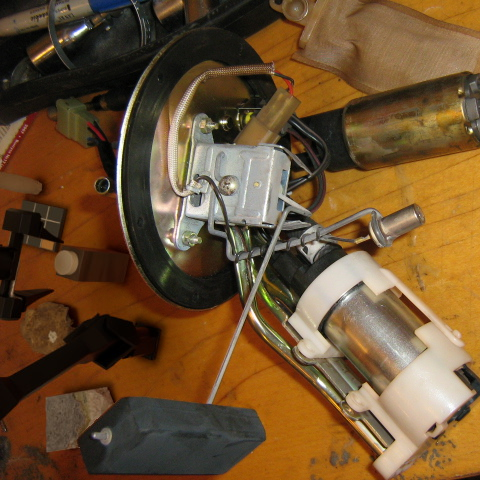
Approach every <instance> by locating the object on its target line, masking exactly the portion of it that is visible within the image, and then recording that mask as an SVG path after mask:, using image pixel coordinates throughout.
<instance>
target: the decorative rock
mask: <svg viewBox="0 0 480 480" xmlns="http://www.w3.org/2000/svg"><path fill="white" fill-rule="evenodd" d="M69 312H70V307H69V306H65V305H64V304H63V303H58V302H57V303H55V302H51V301H45V302H42V303H40V304H39V305H38V306H37V307H36V308H29V309H26V312H24V317H23V318H22V319H21V322H20V324H19V325H20V327H19V328H20V330H19V331H20V334H21V336H22V338H23V339H24V340H25V342H26V343H27V344H28V345H29V346H30V348H31V352H34V353H37V354H41V355H44V356H46V355H48V354H49V353H51V352H53V351H55V350H56V349H58V348H60V347H62V346H63V345H65V344H66V343H65V342H64V341H63V340H62V339H64V338H65V337H66V336H67V335H68V334H69V333H70V332H72V331H73V330H74V329H75V328H76V327H74V326H72V325H73V324H74V321H75V319H74V318H73V319H71V318H72V317H70V314H69Z"/></svg>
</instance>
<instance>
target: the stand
mask: <svg viewBox="0 0 480 480" xmlns="http://www.w3.org/2000/svg"><path fill="white" fill-rule="evenodd" d="M63 250H66V251H73V252H74V253H75V254H76V255H77V257H78V267H77V269H76V271H75V272H74V273H73V274H71V275H61V274H59V273H57V271H56V270H55V276H56V277H59V278H63V279H67V280H71V281H74V282H77V283H120V284H122V283H125V280H126V275H127V270H128V265H129V261H130V257H131V254H129V253H125V252H121V251H116V250H113V249H108V248H98V247H90V246H89V247H88V246H81V245H69V244H61V248H60V251H63Z"/></svg>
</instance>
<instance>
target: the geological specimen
mask: <svg viewBox="0 0 480 480" xmlns="http://www.w3.org/2000/svg"><path fill="white" fill-rule="evenodd" d="M112 404H115V402H114V400H113V398H112V395H111V392H110V390H109V386H103V387H97V388H92V389H91V388H90V389H85V390H79V391H71V392H67V393H61V394H56V395H50V396H46V397H45V405H44V409H45V418H46V419H45V421H46V422H45V436H46V440H45V444H46V451H45V452H46V453H50V452H51V453H52V452H57V451H65V450H70V449H76V448H79V447H78V444H77V439H78V437H79V436H80V435H81V434H82V433H83V432H84V431H85V430H86V429H87V428H88V427H89V426H91V425H92V424H93V423H94V421H95V420H96V419H98V418H99V417H100V416H101V415H102V414H103V413H104V412H105V411H106V410H107V409H108V408H109V407H110V406H111V405H112Z"/></svg>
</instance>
